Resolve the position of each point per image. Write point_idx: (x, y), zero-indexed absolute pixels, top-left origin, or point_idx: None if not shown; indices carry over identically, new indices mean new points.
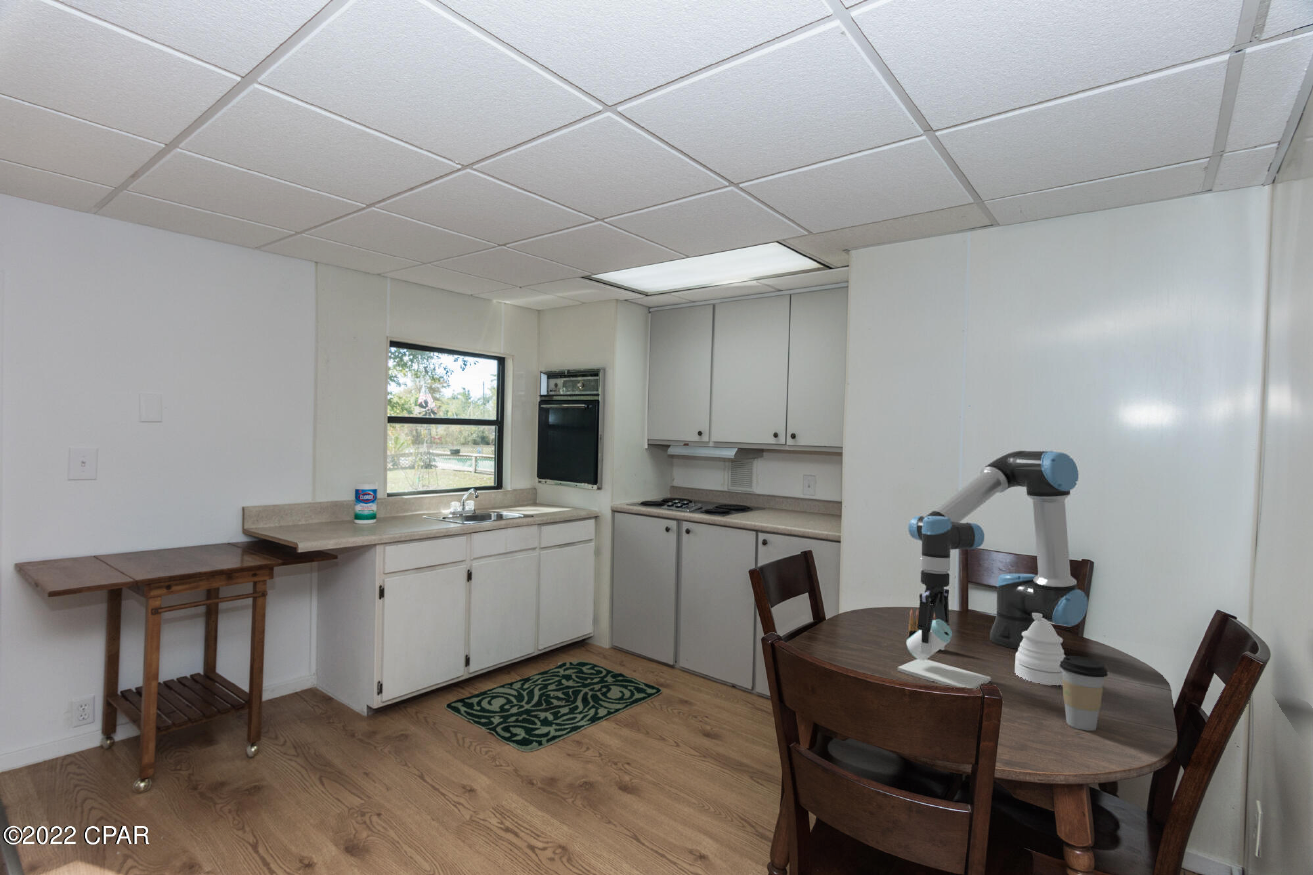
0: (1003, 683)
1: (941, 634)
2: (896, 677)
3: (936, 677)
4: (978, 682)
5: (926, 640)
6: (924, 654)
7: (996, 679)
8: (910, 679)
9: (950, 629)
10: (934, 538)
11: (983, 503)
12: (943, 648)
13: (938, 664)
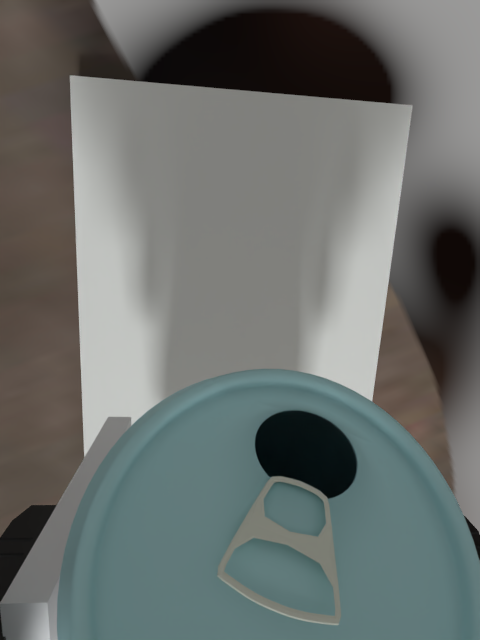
0: (47, 3)
1: (416, 472)
2: (444, 463)
3: (358, 320)
4: (245, 106)
5: (473, 527)
6: (296, 472)
7: (8, 67)
8: (423, 411)
9: (113, 480)
10: None
11: None
12: (123, 422)
13: (116, 405)
